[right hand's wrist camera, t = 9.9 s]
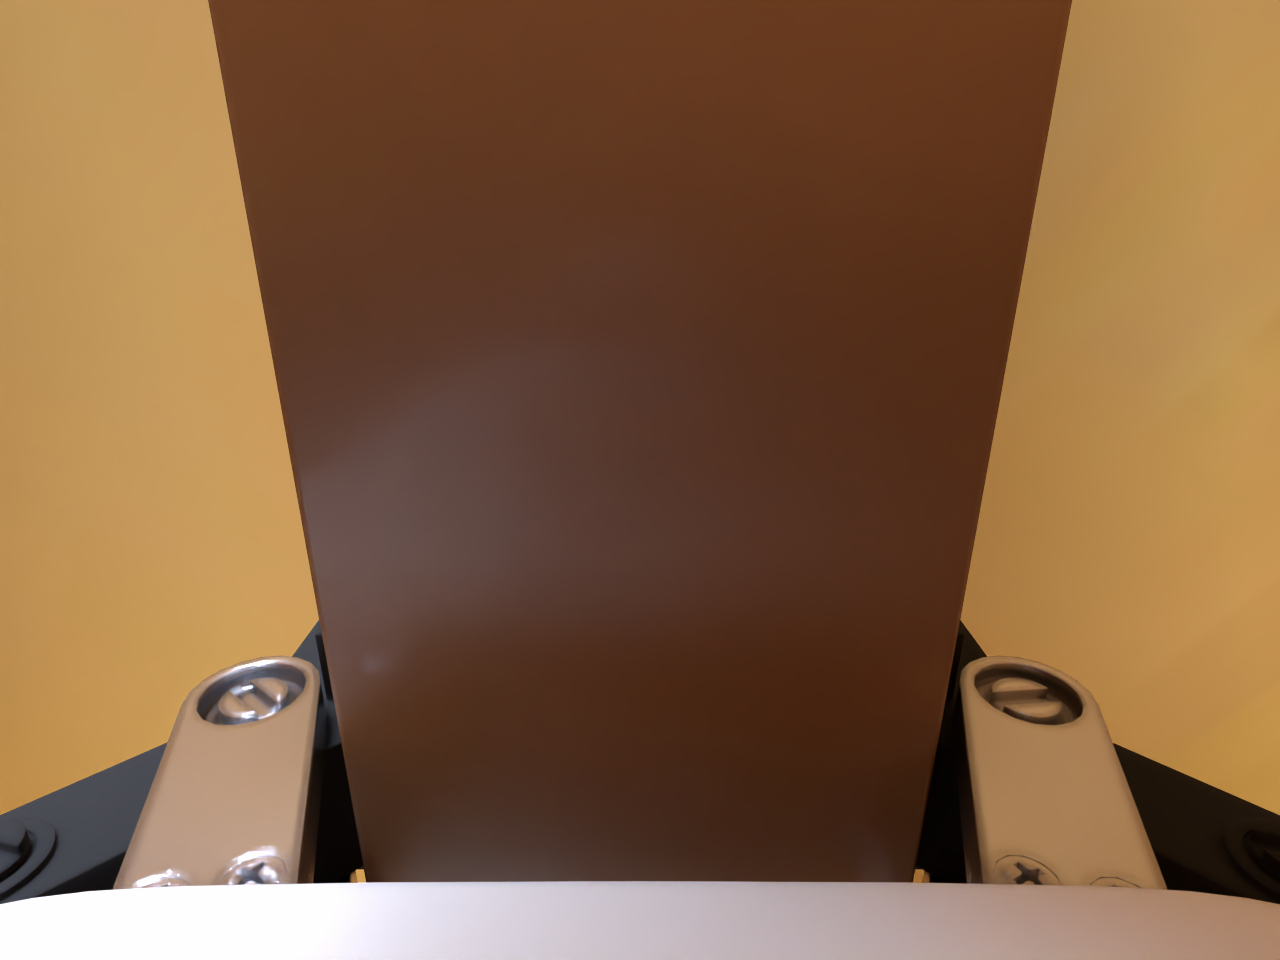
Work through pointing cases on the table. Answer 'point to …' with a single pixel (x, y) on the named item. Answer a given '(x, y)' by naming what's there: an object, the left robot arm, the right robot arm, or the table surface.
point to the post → (639, 407)
